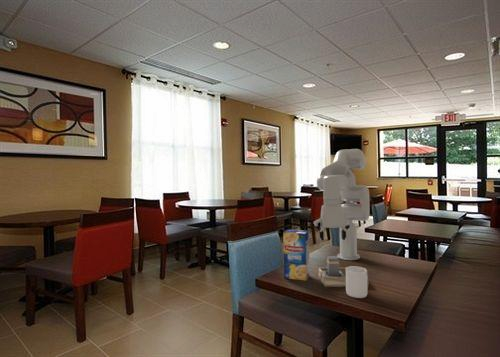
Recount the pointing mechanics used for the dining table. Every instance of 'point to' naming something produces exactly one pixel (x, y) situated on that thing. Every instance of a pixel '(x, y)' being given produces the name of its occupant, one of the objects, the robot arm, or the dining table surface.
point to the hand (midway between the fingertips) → (332, 239)
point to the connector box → (334, 278)
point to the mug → (356, 281)
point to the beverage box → (296, 254)
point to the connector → (332, 266)
